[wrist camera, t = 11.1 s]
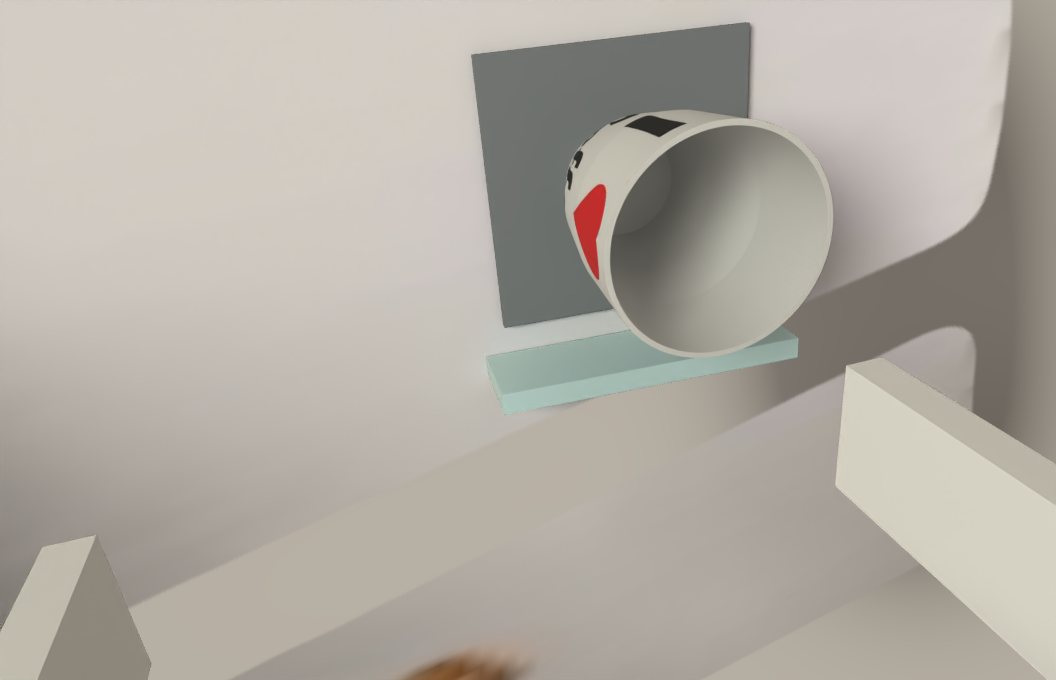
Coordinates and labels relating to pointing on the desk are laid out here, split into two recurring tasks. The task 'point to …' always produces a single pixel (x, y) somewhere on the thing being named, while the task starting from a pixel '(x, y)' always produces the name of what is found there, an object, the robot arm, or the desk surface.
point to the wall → (612, 368)
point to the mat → (580, 142)
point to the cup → (699, 226)
